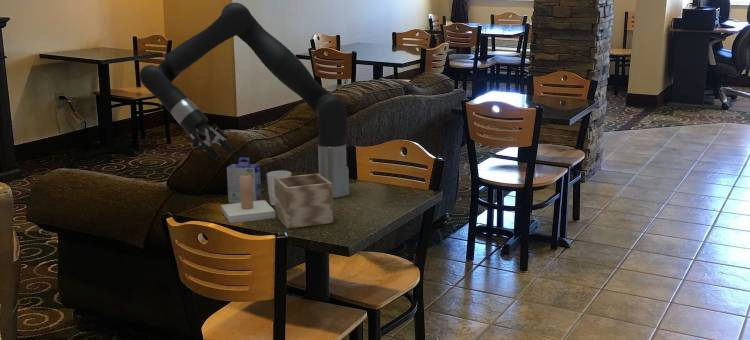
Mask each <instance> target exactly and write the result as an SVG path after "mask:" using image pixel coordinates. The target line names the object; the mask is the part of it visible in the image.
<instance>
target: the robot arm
mask: <svg viewBox="0 0 750 340" xmlns="http://www.w3.org/2000/svg"><path fill="white" fill-rule="evenodd" d="M234 37H238V38H239V39H240V40H241V41H242V42H244V43H245V44H246V45H247V46H248V47H249V48H250V49H251V50H252V52H254V54H255V56H256V57H257V58H258V59H259V61H260V62H261V63H262V64H263V65H264V67H265V68H266V69H267V70H268V71H270V73H271V74H272V75H274V77H276V78H277V79H278V81H280V82H281V83H282V84H283V85H284V86H286V87H287V88H288V89H290V91H292V92H294V93H295V94H296V95H297V96H299V97H300V98H301V99H302V100H303V101H304V102H305V103H306V104H307V106H308V107H309V108H310V109H311V110H312V112H313V113H314V114H315V116H316V117H317V118H318V124H319V127H318V129H319V130H318V136H317V152H318V153H317V154H318V158H317V159H318V174H320V175H321V176H323V177H324V178H325V179H327V180H328V181H329V182H331V183H332V195H333V199H337V198H343V197H346V196H350V177H349V171H350V170H349V167H348V166H347V141H346V140H347V136H348V135H347V134H348V112H347V106H346V104H345V103H344V101H343V100H341V98H338V97H337V96H335V95H334V94H332V93H331V92H329V91H328V90H327V89H326V88H325V87H323V86H322V85H321V84H320V83H318V81H317V80H315V78H314V76H313V75H312V74H311V72H310V71H309V69H308V68H307V67H306V66H305V64H304V63H303V62H302V61H301V59H299V58H298V56H296V55H295V54H294V53H293V52H292V51H291V50H290V49H289V48H288V47H287V46H286V45H285V44H283V43H282V42H281V41H279V40H278V39H277V38H275V36H273V35H272V34H270V33H269V32H268V31H267V30H265V28H264V27H263V26H262V25H261V24H260V23H259V22H258V20H257V19H256V18H255V17H254V16H253V15H252V13H251V12H250V10H249V8H248V7H246V6H245V5H244V4H242V3H239V2H230V3H228V4H226V5H225V6H223V8H222V10H221V13H220V15H219V16H218V18H217V19H215V20H214V22H213V23H211V24H210V25H208V26H207V27H205V28H204V29H203V30H201V31H200V32H198V33H197V34H194V35H193V36H192V37H190V38H188V39H186V40H184V41H183V42H182V43H180V44H179V45H178V46H176V47H175V48H173V49H172V50H170V52H168V53H167V54H165V56H164V60H163V61H162V62H161V63H159V65H154V64H148V65H145V66H143V67H142V68H141V70H140V72H139V80H140V82H141V84H142V85H143V86H144V88H146V89H147V90H148V91H149V92H150V93H151V94H152V95H153V96H154V97H155V98H156V99H158V100H159V102H160V103H161V104H162V105H163V107H164V108H165V109H166V110H167V111H168V112H169V113H170V114H171V116H172V118H174V119H175V121H176V122H177V123H178V124H179V125H180V127H181V128H182V129H183V130H184V131H185V132H186V133H187V134H188V137H187V138H188V139H189V141H190V142H191V143H193V144H194V146H195V147H196V149H197V150H198V151H200V152H201V151H204V152H207V154H208V155H209V156H210V157H211V158H212V160H214V161H215V160H217V159H218V158H219V156H220V154H219V152H218V151H217V150H216V149H215V148H214V147H213V146H212V145H211V143H213V144H217V145H219V146H220V147H221V148H222V149H223V150H224V151H225V153H227V154H228V155H230V154H231V153H233V151H234V147H232V145H230V144H229V142H228V141H227V139H228V138H229V136H228V135H227V134H226V133H225V132H224V131H223V130H222V129H221V128H220V127H219V126H218V125H217V124H215V123H214V124H213V125H212V126H210V125H209V124H208V121H209V118H208V117H207V116H206V115H205V114H204V113H203V112H202V111H201V109H200V108H199V107H198V106H197V105H196V104H195V103H194V102H193V101H192V100H191V99H189V98H188V96H187V95H185V93H184V92H183V91H182V90H181V89H180V88H178V87H177V86H176V85H175V84H173V81H175V79H176V78H177V77H178V76H179V75H180V74H181V73H182V72H184V71H186V70H187V69H188V68H190V67H191V66H192V65H194V64H195V63H196V62H198V61H199V60H200V59H201V58H203V57H204V56H206V55H207V54H208V53H209V52H211V51H212V50H214V49H215V48H216V47H218V46H219V45H221V44H223V43H224V42H226V41H227V40H230V39H232V38H234Z"/></svg>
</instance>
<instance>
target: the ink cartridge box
mask: <svg viewBox="0 0 750 340" xmlns="http://www.w3.org/2000/svg"><path fill="white" fill-rule="evenodd" d="M242 160H246V161H242ZM242 175H251V176H252V192H253V201H260V200H263V199H262V198H263V197H262V184H261V183H262V182H261V178H262V177H261V165H260V163H258V164H256V163H255V164H253V163H250V157H244V156H243V157H241V156H240V157H239V159H238V162H237V164H236V163H232V164H230V165H228V166H227V167H226V177H227V178H226V179H227V197H228V198H227V199H228V204H233V203H241V190H240V176H242Z"/></svg>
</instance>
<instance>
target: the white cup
mask: <svg viewBox="0 0 750 340" xmlns="http://www.w3.org/2000/svg"><path fill="white" fill-rule="evenodd" d="M289 176H292V172H291V171H289V170H274V171H268V172H267V173H266V179H267V180H266V181H267V190H268V197H269V205H270V206H273V207H274V206H275V188H274V178H279V177H289Z"/></svg>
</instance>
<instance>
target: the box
mask: <svg viewBox="0 0 750 340" xmlns="http://www.w3.org/2000/svg"><path fill="white" fill-rule="evenodd" d="M274 188H275V209H274V210H275V215H276V219H278V221H280V222H281V223H282V224H283V225H284V226H285V227H286V228H287V229H293V228H301V227H308V226H311V227H312V226H317V225H326V224H334V201H333V199H334V198H333V195H332V183H331V182H329V181H328V180H327V179H325V178H324V177H323V176H321V175H320V174H319V173H311V174H302V175H293V176H292V175H291V176H289V177H279V178H274Z"/></svg>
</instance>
